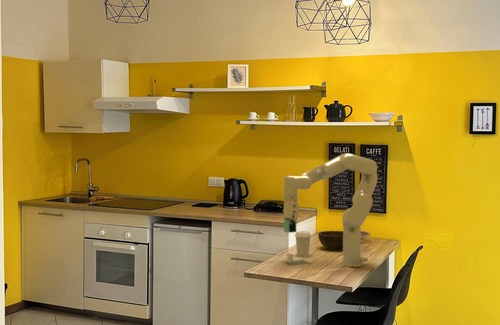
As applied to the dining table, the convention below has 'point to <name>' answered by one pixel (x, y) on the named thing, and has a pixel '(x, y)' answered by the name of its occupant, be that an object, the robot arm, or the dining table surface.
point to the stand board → (298, 262)
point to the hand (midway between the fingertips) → (290, 230)
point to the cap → (287, 225)
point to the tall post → (289, 258)
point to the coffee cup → (303, 243)
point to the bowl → (331, 239)
